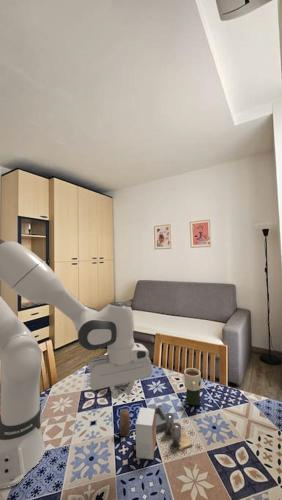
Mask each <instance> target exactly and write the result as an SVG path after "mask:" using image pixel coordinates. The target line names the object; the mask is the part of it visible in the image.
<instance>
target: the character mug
mask: <svg viewBox="0 0 282 500" xmlns="http://www.w3.org/2000/svg"><path fill="white" fill-rule="evenodd" d="M201 376H202V374H201V371H200V370H199V369H197V368H194V367H188V368H185V369H184V371H183V379H184V381H183V384H184V387H185V389H186V393H185V401H186V403H187V404H189V405H190V406H199V405H201V403H202V401H201V393H200V389H201V388H202V377H201Z"/></svg>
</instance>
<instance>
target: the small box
mask: <svg viewBox="0 0 282 500" xmlns="http://www.w3.org/2000/svg"><path fill="white" fill-rule="evenodd" d="M151 408H152V407H141V406H140V407H139V412H138V414H137V419H136V421H135V452H136V454H135V455H136V458H138V459H139V458H140V459H146V460H151V461H152V460H154V458H155V448H156V445H157V433H156V415H155V409H151Z"/></svg>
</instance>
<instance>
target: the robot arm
mask: <svg viewBox="0 0 282 500" xmlns="http://www.w3.org/2000/svg"><path fill="white" fill-rule="evenodd" d="M0 281H2V282H3V283H4V284H5V285H6V286H8V287H9V288H10V289H11V290H12V291H13V292H15V293H16V294H17V295H18V296H20V297H22V298H24V299H25V300H27V301H29V302H30V303H33V304H47V305H51V306H53V307H55V308H56V309H57V310H59V311H60V312H61V313H62V314H63V315H65V316H66V317H67V318H69V320H71V321H72V324H73V325H74V327H75V330H76V332H77V335H76V336H77V340H78V343H79V345H80V346H81V347H82V348H83V349H85V350H88V351H97V350H100V349H103V348H106V347H107V348H106V352H107V354H105V355H100V356H94V357H93V358H92V359H91V360H89V362H88V371H89V387H90V389H92V391H97V390H100V389H106V388H109V390H110V391H111V393H112V398H113V399H114V400H115V399H118V398H119V391H118V390H117V389H115V387H116V386H115V385H119V384H123V383H127V382H128V383H127V384H128V385H127V386H126V387H125V394H126V396H130V395H132V390H133V388H134V386H135V381H139V380H143V379H147V378H150V377H151V376H152V374H153V369H152V368H153V367H152V361H151V358H150V352H149V350H148V349H147V348H146V346H145V345H143V344H142V343H139V342H135V339H134V330H135V324H134V323H135V321H134V313H133V309H132V307H131V306H130V305H128V304H127V303H125V302H121V301H112V302H108V305H107V306H105V307H104V308H102V309H101V310H98V309H96V308H94V307H90V306H88V305H85V304H84V303H82V302H81V301H80V300H79V299H78V298H76V296H74V295H73V294H72V293H71V292H69V290H67V289H66V287H65V286H64V285H63V283H62V282H61V280H60V278H59V277H58V276H57V274H56V273H55V272H54V270H53V269H52V268H51V267H50V266H49V265H48V264H47V263H46V262H45V261H43V259H41V257H39V256H38V255H36V254H35V252H33V251H31V250H30V248H29V249H28V248H27V247H25V246H24V245H22V244H21V243H19V242H17V241H13V240H12V241H11V240H10V241H9V240H8V241H6V240H3V239H1V238H0ZM42 353H43V352H42V350H41V347H40V345H39V343H38V341H37V339H36V337H35V335H34V334H33V333H32V332H31V330H30V329H29V327H27V326H26V324H24V323H23V321H22V320H21V319H20V318H19V316H17V314H15V313H14V311H13V310H12V309H11V307H10V306H9V305H8V304H7V302H6V301H5V300H4V299H3V297H2V296H1V295H0V490H1V488H3V489H5V488H4V487H8V486H13V485H16V484H18V483H19V482H20V481H21V480H22V479H23V480H24V478H25V477H26V476H27V475H28V474H27V472H28V471H30V470H31V469H32V468H33V467H35V466H36V465H37V464H38V465H39V464H40V462H41V461H42V460H41V459H43V458H44V456H45V454H44V453H46V450H45V448H46V447H45V446H46V443H45V441H44V437H43V433H42V423H43V418H42V417H43V415H42V413H43V412H42V407H41V405H42V404H41V403H40V401H41V400H40V397H41V396H40V383H41V382H40V380H41V374H42V373H41V372H42V361H43V360H42V359H43V357H42V356H43V355H42ZM46 449H47V448H46ZM43 455H44V456H43ZM42 457H43V458H42ZM40 460H41V461H40ZM39 461H40V462H39ZM38 465H37V466H38ZM37 466H36V467H37ZM36 467H35V468H36ZM32 470H33V469H32ZM32 470H31V471H32ZM31 471H30V472H31ZM26 474H27V475H26ZM25 475H26V476H25ZM24 476H25V477H24ZM12 480H13V481H12ZM23 480H22V481H23ZM22 481H21V482H22ZM21 482H20V483H21ZM20 483H19V484H20ZM19 484H18V485H19Z"/></svg>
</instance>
